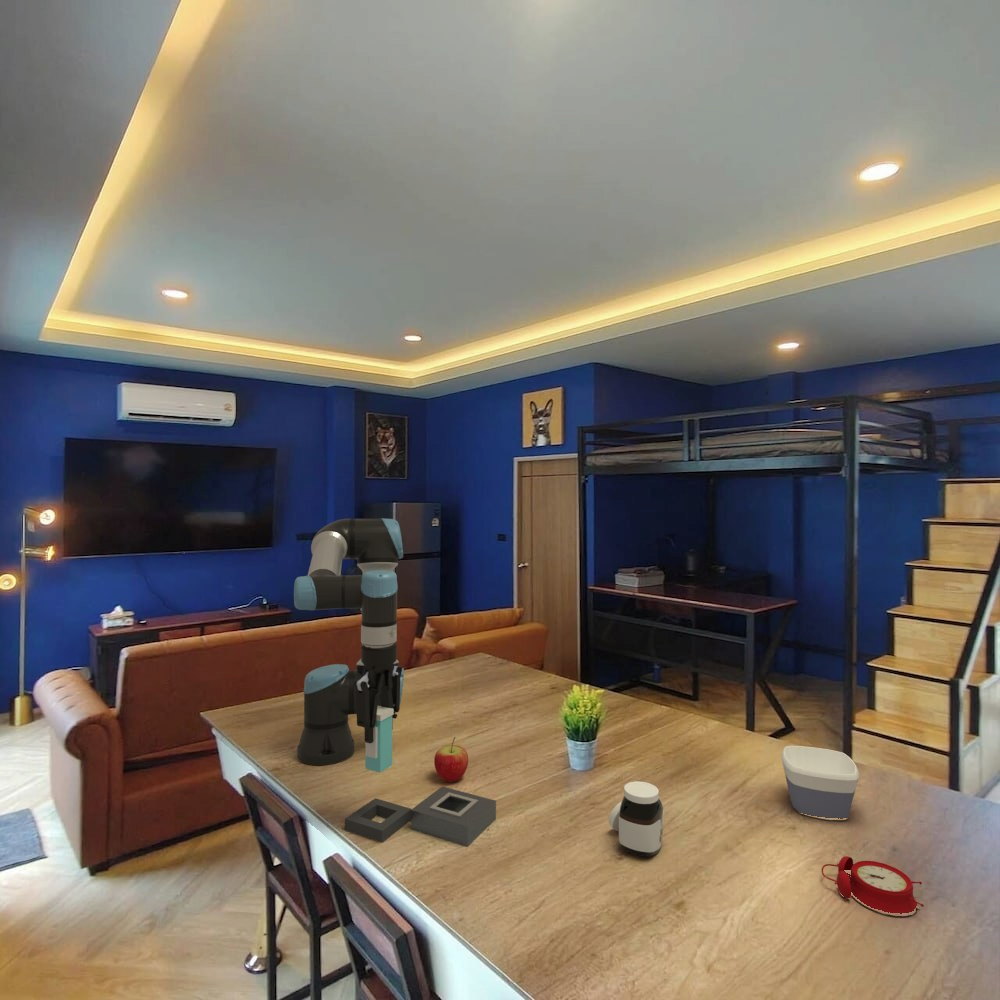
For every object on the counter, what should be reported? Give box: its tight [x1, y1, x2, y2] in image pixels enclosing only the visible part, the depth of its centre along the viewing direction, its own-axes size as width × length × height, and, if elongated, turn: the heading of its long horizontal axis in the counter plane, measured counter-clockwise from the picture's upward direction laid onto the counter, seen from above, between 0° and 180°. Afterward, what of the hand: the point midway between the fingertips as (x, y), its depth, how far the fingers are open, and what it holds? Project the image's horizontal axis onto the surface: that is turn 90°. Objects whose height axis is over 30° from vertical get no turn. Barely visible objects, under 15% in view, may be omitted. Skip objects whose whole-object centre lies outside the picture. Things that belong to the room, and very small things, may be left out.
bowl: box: [781, 745, 860, 819], centre depth 139 cm, size 15×15×11 cm
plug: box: [364, 706, 394, 773], centre depth 131 cm, size 4×4×12 cm
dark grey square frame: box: [344, 798, 412, 843], centre depth 131 cm, size 10×10×2 cm
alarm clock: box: [821, 855, 924, 914], centre depth 108 cm, size 10×6×15 cm
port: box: [410, 786, 497, 847], centre depth 131 cm, size 14×12×4 cm
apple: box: [433, 736, 469, 783], centre depth 152 cm, size 8×8×10 cm
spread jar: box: [608, 780, 664, 858], centre depth 125 cm, size 12×11×12 cm
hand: (378, 752), depth 131 cm, fingers closed on plug, 4 cm apart
